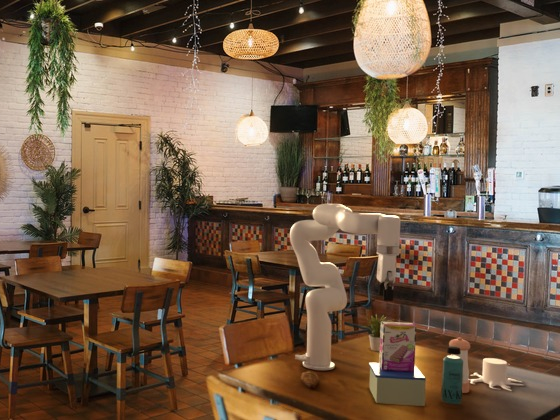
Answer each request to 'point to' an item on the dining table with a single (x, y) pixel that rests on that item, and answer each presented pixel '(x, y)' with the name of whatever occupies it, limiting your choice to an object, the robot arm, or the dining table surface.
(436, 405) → the dining table surface
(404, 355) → the candy bar box
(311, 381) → the croissant
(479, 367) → the dining table surface
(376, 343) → the house plant
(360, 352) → the dining table surface
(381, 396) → the container
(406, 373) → the container lid
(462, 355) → the pepper shaker
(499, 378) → the tree stump
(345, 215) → the robot arm
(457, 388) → the beverage bottle
